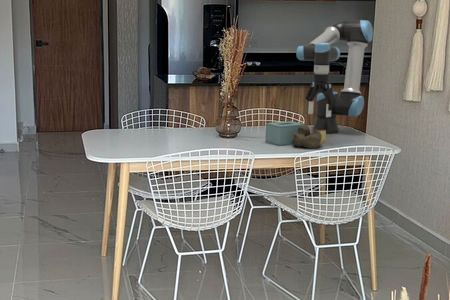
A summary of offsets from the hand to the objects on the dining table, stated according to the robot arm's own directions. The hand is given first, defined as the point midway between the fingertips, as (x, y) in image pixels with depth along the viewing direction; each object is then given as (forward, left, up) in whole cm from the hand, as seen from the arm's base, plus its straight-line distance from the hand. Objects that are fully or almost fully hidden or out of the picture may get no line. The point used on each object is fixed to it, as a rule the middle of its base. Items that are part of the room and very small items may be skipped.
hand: (319, 115), depth 304 cm
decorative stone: (+10, +4, -15) cm, 19 cm away
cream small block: (0, 0, -15) cm, 15 cm away
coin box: (+14, -11, -15) cm, 23 cm away
